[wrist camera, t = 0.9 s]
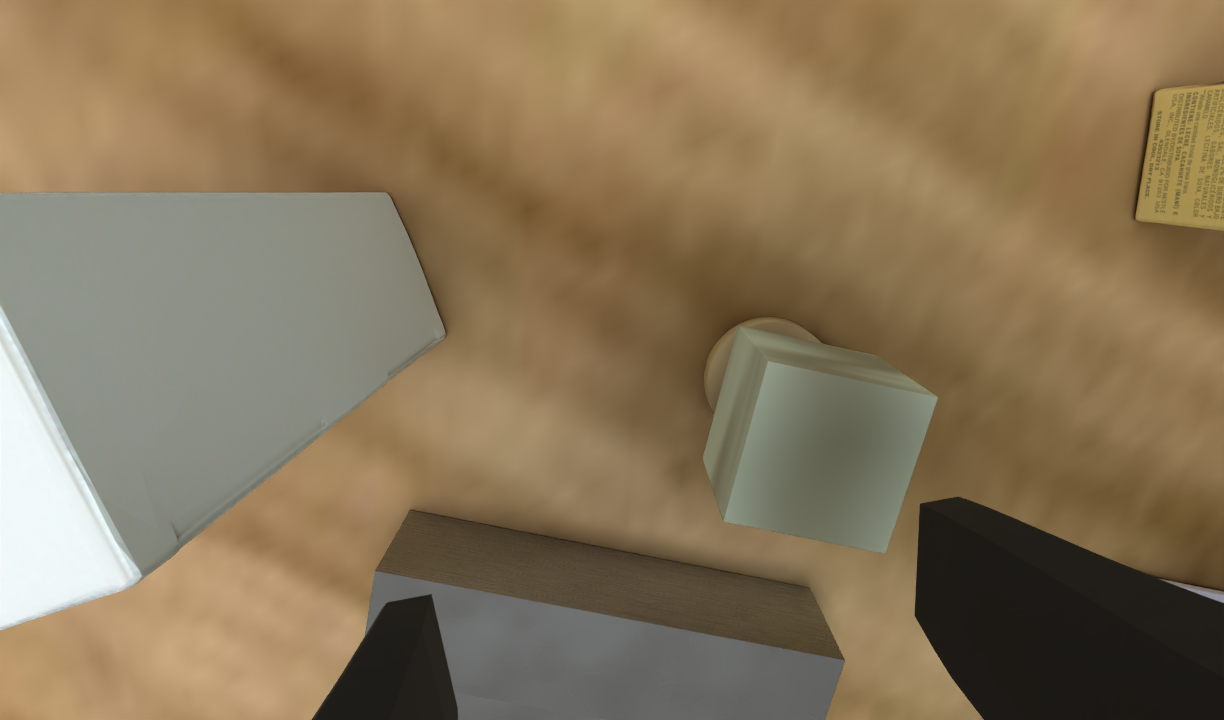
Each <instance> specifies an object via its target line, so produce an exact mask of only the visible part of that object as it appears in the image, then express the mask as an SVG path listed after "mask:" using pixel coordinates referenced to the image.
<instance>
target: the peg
mask: <svg viewBox="0 0 1224 720" xmlns="http://www.w3.org/2000/svg"><path fill="white" fill-rule="evenodd" d="M704 390H705V394H706V397H707V400H708V403H709V405H710V407H711V410H712V412H713V414H714V417H713V421H712V425H711V429H710V433H709V436H708V440H707V444H706V448H705V452H704V455H703V462H704V465H705V468H706V471H707V474H708V477H709V480H710V483H711V486H712V489H713V492H714V495H715V498H716V501H717V504H718V507H719V510H720V513H721V516H722V519H723V522H728V523H733V524H738V525H743V526H748V527H753V528H758V529H763V530H768V531H773V532H778V533H783V534H788V535H793V536H798V537H803V538H808V539H813V540H819V541H824V542H829V543H834V544H839V545H844V546H849V547H854V548H859V549H864V550H869V551H874V552H879V553H884V554H885V553H886V550H887V547H888V544H889V541H890V538H891V536H892V533H893V530H894V527H895V524H896V521H897V518H898V515H899V512H900V509H901V506H902V503H903V500H904V497H905V494H906V491H907V488H908V485H909V482H910V479H911V476H912V473H913V470H914V467H915V464H916V461H917V458H918V456H919V453H920V450H921V447H922V444H923V441H924V438H925V435H926V432H927V429H928V426H929V423H930V420H931V417H932V414H933V411H934V408H935V405H936V402H937V399H938V397H937V396H935V395H934V394H933V393H931V392H930V391H928V390H927V389H925V388H924V387H922V386H921V385H919V384H918V383H917V382H915V381H914V380H912V379H911V378H909V377H908V376H906V375H905V374H903V373H902V372H901V371H899V370H898V369H896V368H895V367H893V366H892V365H890V364H889V363H887V362H886V361H885V360H883V359H882V358H880V357H879V356H877V355H873V354H869V353H864V352H859V351H855V350H850V349H845V348H841V347H836V346H831V345H827V344H822V343H821V342H820V341H819V340H818V339H817V338H816V337H814V336H813V335H812V334H811V333H809V332H808V331H807V330H806V329H804V328H803V327H801V326H800V325H798V324H796V323H794V322H792V321H790V320H786V319H783V318H777V317H760V318H755V319H750V320H747V321H745V322H742V323H740V324H738V325H736V326H734V327H733V328H731V329H730V330H729V331H727V332H726V333H725V334H724V335H723V336H722V337H721V338H720V339H719V340H718V341H717V342H716V344H715V345H714V347H713V348H712V350H711V352H710V354H709V356H708V358H707V361H706V365H705V370H704Z"/></svg>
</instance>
